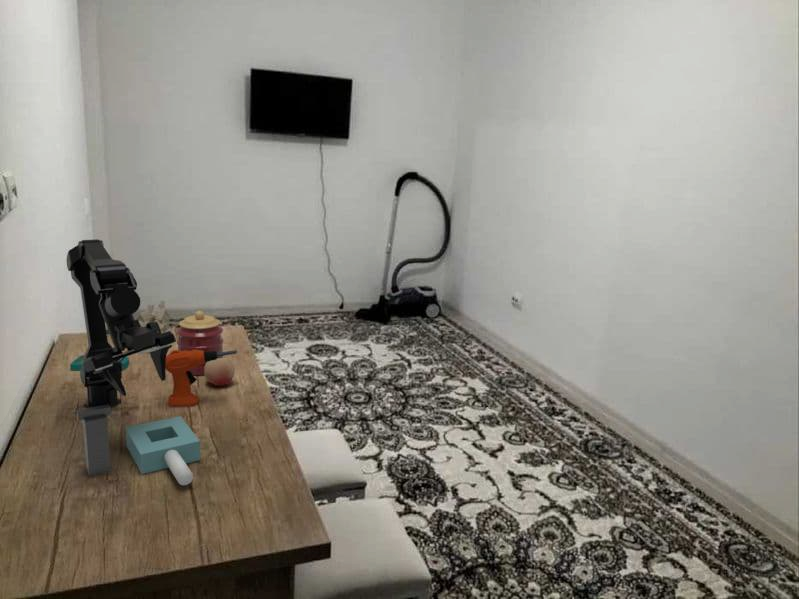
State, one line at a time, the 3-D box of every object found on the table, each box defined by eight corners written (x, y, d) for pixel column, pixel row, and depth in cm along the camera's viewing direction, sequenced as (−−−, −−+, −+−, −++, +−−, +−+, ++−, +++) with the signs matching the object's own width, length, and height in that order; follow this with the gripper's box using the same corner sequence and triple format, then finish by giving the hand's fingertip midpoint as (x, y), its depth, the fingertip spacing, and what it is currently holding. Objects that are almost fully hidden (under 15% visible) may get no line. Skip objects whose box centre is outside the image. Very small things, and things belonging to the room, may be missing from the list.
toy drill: (243, 398, 164) (235, 344, 160) (168, 411, 160) (157, 356, 155) (243, 390, 168) (235, 338, 164) (169, 403, 164) (159, 349, 160)
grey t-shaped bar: (80, 469, 129) (75, 407, 126) (112, 461, 132) (108, 402, 129) (84, 477, 126) (78, 415, 123) (116, 470, 129) (112, 409, 126)
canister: (175, 377, 179) (173, 317, 175) (180, 361, 191) (178, 305, 187) (223, 375, 182) (222, 316, 178) (224, 360, 194) (223, 305, 190)
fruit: (231, 377, 181) (230, 351, 179) (236, 387, 174) (236, 360, 172) (202, 380, 178) (201, 354, 176) (207, 391, 171) (206, 363, 169)
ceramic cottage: (152, 333, 215) (149, 291, 211) (183, 345, 207) (180, 302, 202) (110, 347, 203) (105, 303, 198) (140, 360, 194) (136, 315, 190)
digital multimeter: (123, 373, 181) (122, 363, 180) (69, 372, 180) (68, 362, 179) (131, 364, 188) (131, 355, 187) (80, 363, 187) (79, 354, 186)
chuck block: (126, 445, 139) (125, 427, 138) (181, 433, 146) (180, 416, 145) (154, 497, 120) (153, 476, 119) (216, 481, 127) (215, 461, 126)
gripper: (91, 326, 124) (119, 400, 125) (175, 302, 138) (199, 368, 139) (71, 335, 131) (97, 405, 132) (152, 311, 145) (175, 374, 146)
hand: (144, 387), depth 137 cm, fingers open, 9 cm apart
